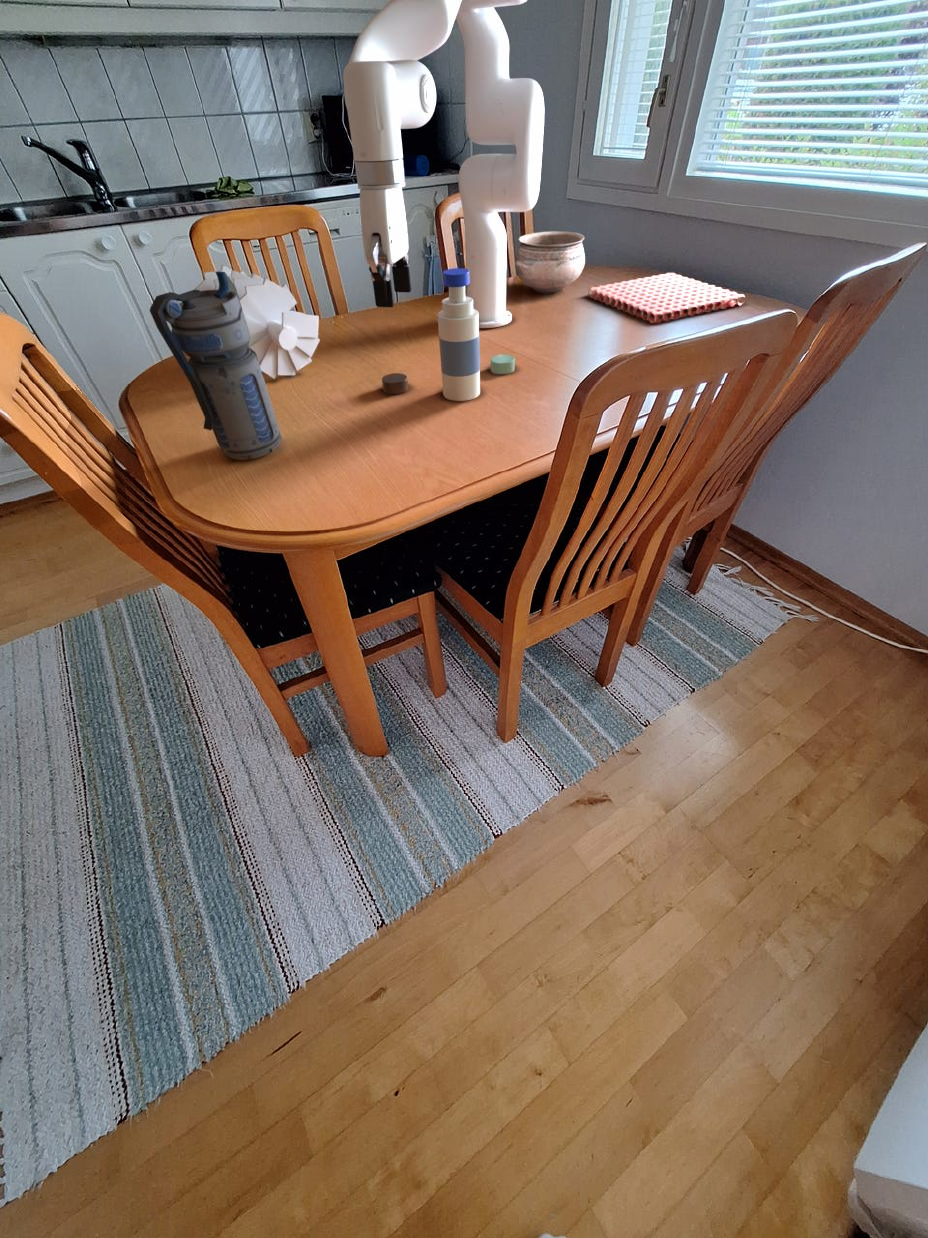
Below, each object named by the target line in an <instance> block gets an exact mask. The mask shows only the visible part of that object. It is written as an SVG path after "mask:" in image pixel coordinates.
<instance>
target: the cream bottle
mask: <svg viewBox="0 0 928 1238" xmlns="http://www.w3.org/2000/svg"><path fill="white" fill-rule="evenodd" d="M442 277H443V278H442V279H443V280H442V281H443V286H444V287H447V288H448V297H446V298H443V299H442V300H441V308H442V310H440V311H439V312H438V313H437V324H438V325H437V326H438V344H439V357H440V371H441V382H442V383H441V384H442V395H443V397H444V398H445V399H446V400H449V401H454V402H465V401H471V400H474V399H476V398H477V397H479V396H480V395H481V374H480V373H481V357H480V356H481V355H480V354H481V353H480V351H481V350H480V328H479V313H478V311H477V310H475V309H473V299H472V298H470V297H467V295H466V287H467V285H468V284H469V283H470V279H469V270H468V269H466V268H464V267H463V268H461V267H455V268H454V267H453V268H448V269H445V270H443V272H442Z"/></svg>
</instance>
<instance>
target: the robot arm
mask: <svg viewBox="0 0 928 1238" xmlns="http://www.w3.org/2000/svg"><path fill="white" fill-rule="evenodd" d="M527 1H528V0H389V1H388V3H386V4H385V5H384V6H383V7H382V8H381V9H380V10H379V11H378V12H377V13H376V15H374V16H373V17H372V18H371V19H370V20H369V21H368V23H367V24H366V25H365V27H363V29H362V30H361V32H360V34H359V35H358V37H357V39H356V42H355V43H354V46H353V49H352V52H351V55H350V57H349V60H348V64H347V65H345V67H344V69H343V76H342V79H343V95H344V96H343V97H344V103H345V107H346V110H347V117H348V125H349V131H350V132H349V133H350V139H351V147H352V153H353V161H354V167H355V177H356V182H357V189H358V190H359V214H360V223H361V225H360V226H361V227H360V228H361V237H362V245H363V254H364V260H365V263H366V264H367V265H368V270H369V272H370V278H371V282H372V288H373V295H374V301H375V306H376V307H377V308H393V307H394V306H395V300H394V292H395V293H411V292H412V280H411V279H412V278H411V269H410V257H409V253H410V251H409V250H410V248H409V232H408V223H407V214H406V207H405V201H404V192H403V188H404V187H406V177H405V176H406V175H405V167H404V166H405V165H404V154H403V142H402V132H401V130H409V129H418V128H421V127H423V126H424V125H426V124H427V123H428V122H429V121H430V120H431V118H432V117H433V114H434V112H435V110H436V109H435V108H436V104H437V90H436V84H435V80H434V78H433V75H432V73H431V71H430V70H429V68H427V66H426V65H425V64H423V63H422V62H420V60H421V59H423V58H424V57H427V56H429V55H430V54H433V53H434V52H435V51H436V50H438V49H439V48H441V47H442V46H443V45H444V44H445V43H446V42H447V40H448V39H449V37H450V35H451V33H452V29H453V27H454V24H455V21H456V22H457V26H458V28H459V31H460V35H461V38H462V43H463V47H464V48H463V49H464V50H463V51H464V94H465V95H464V99H465V101H464V102H465V103H464V104H465V106H464V107H465V108H464V109H465V128H466V133H467V136H468V139H469V140H470V141H471V142H473V143H474V144H477V145H483V146H515V151H516V153H479V154H474V155H471V156H469V157H468V158H466V159H465V160H464V161H463V163H462V164H461V166H460V169H459V173H458V191H459V197H460V202H461V209H462V213H463V214H462V215H463V216H462V217H463V226H464V243H465V244H464V245H465V248H464V249H465V269H468V270H469V279H470V283H469V284H468V285H466V297H470V298H472V299H473V309H475V310H477V311H478V313H479V329H492V328H493V329H494V328H499V327H503V326H505V325H508V324H509V323H511V322H512V320H513V315H512V313H511V312H510V311H509V310H507V248H508V247H507V246H508V245H507V241H508V237H507V231H506V228H505V225H504V223H503V221H502V219H501V217H500V216H499V215H500V214H498V213H500V212H501V213H525V212H529V211H531V210H533V208H534V207H535V205H536V204H537V202H538V199H539V195H540V187H541V177H542V175H541V174H542V160H543V144H544V129H545V128H544V127H545V100H544V93H543V90H542V88H541V86H540V84H539V83H538V81H536V80H535V79H534V78H530V77H514V78H510V41H509V36H508V34H507V30H506V28H505V25H504V24H503V21H502V19H501V18H500V15H499V14H498V12H497V11H496V9H495V8H500V7H508V6H509V7H511V6H518V5H519V6H520V5H522V4H524V3H526V2H527ZM391 265H393V266H391ZM383 267H384V268H383ZM391 272H392V279H390V273H391ZM392 281H393V283H392ZM393 290H394V291H393Z"/></svg>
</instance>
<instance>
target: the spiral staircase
mask: <svg viewBox="0 0 928 1238" xmlns="http://www.w3.org/2000/svg"><path fill="white" fill-rule="evenodd" d="M218 271H221V272H225V273H226V274H227V276H228V277H229V278H230V280H231V281H232V283H233V284H234V285H235V287H236V290H237V294H238V297H239V300H240V303H241V307H242V310H243V313H244V316H245V319H246V323H247V326H248V329H249V333H250V336H251V338H250V342H249V345H248V347H249V348H250V349H252V350H253V351H255V353H256V355H257V358H258V362H259V365H260V368H261V371H262V373H264V374H266V375H268V376H269V377H270V378H272V379H273V380H275V379H276V377H277V376H296V371H297V372H299V371H300V370H301V369H303V368H304V367H305V366H307V365H309V364H310V363H312V362H313V360H312V359H311V358H312V357H313V356H314V353H315V352H316V349H317V348H318V345H319V344H320V341H321V339H320V338H319V326H320V325H319V323H320V316H319V315H317V314H315V315H314V314H305V313H304V312H301V311H300V312H299V311H295V310H292V309H293V308H294V307H295V306H296V305H297V304H298V302H297V300H296V298H295V296H294V295H293V294H292V292H291V290H290V289H289V287H288V286H287V284H286V283H283V285H282V286H280V285H279V284H277V283H276V282H275V281H274V280H270V279H268V278H267V277H264V278H263V277H261V276H259V275H258V274H256V273H255V272H252V273H250V275H249V276H248V275H247V274H246V272H244V270H242V269H241V270H240V271H235V270H234V269H232V268H230V267H228V266H226V265H224V264H221V267H220V270H213V271H205V272H203V273H202V275H203V278H204V279H203V280H202V281H201V282H200V283H199V284H198V285H197V286H196V287H195V288H194V289H193V290H199V291H206V290H218V289H219V281H218V277H217V275H216V273H215V272H218Z"/></svg>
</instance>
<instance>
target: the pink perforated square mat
mask: <svg viewBox="0 0 928 1238" xmlns="http://www.w3.org/2000/svg"><path fill="white" fill-rule="evenodd" d="M590 290H591V291H592V294H591V295H590V293H589V292H590ZM587 294H588V297H589V298H591V299H592V298H593V299H594V300H595V301H599V302H600V303H605V305H607V306H608V305H610V306H611V307H612V308H617V310H622V311H623V313H629V315H633V316H634V315H635V316H636V318H642V320H643V321H649V323H650V324H661V323H662V322H669V321H671V320H678V319H679V318H683V319H685V318H686V317H688V316H690V317H693V316H695V315H697V314H698V315H702V314H703V313H710V312H711V311H715V312H717V311H719V310H720V309H722V310H726V309H727V308H734V307H735V306H742V305H743V304H744V303H745V300H746V296H745V294H744V293H740V294H739V293H737V292H736V291H730V290H729V289H723V288H722V287H721V286H720V287H716V285H714V284H708V283H707V282H702V281H701V280H695V279H694V278H689V277H688V276H682V274H676V273H675V272H666V273H665V274H662V273H659V274H658V275H651V276H645V277H643V278H640V277H638V278H636V279H629V280H628V281H626V280H622V281H621V282H614V283H613V284H612V283H611V284H610V283H607V284H606V285H599V286H597V287H595V286H591V287H590V288H589V290H588V292H587ZM741 298H743V301H742V302H739V301H740V299H741ZM734 299H735V300H734Z"/></svg>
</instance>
